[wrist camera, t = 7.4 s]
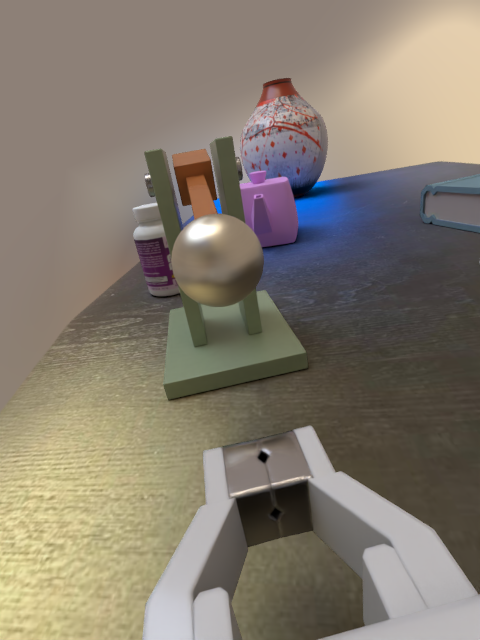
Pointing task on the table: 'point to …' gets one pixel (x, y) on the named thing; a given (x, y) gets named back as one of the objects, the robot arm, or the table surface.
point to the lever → (212, 241)
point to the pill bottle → (154, 251)
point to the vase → (285, 138)
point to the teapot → (270, 209)
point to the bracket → (219, 322)
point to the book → (453, 203)
